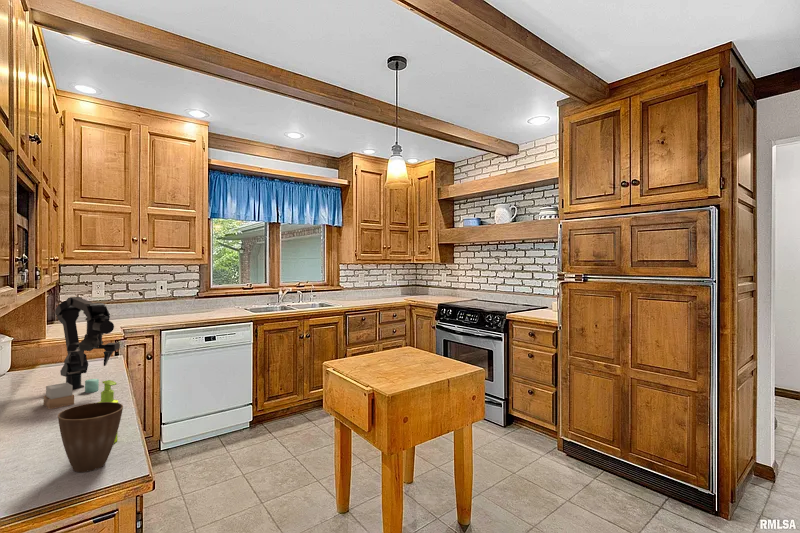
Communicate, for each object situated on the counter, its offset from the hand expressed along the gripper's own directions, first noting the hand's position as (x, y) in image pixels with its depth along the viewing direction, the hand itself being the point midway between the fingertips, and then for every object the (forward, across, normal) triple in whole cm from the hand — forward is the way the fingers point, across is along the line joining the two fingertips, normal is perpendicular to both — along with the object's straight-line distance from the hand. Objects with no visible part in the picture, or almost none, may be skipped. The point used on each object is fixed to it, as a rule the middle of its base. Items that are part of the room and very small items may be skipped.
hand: (93, 365), depth 186 cm
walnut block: (+12, -5, -15) cm, 20 cm away
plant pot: (+10, +34, -76) cm, 84 cm away
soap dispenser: (+10, +32, -60) cm, 68 cm away
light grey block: (+8, -5, -15) cm, 18 cm away
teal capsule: (+12, -2, +3) cm, 13 cm away
